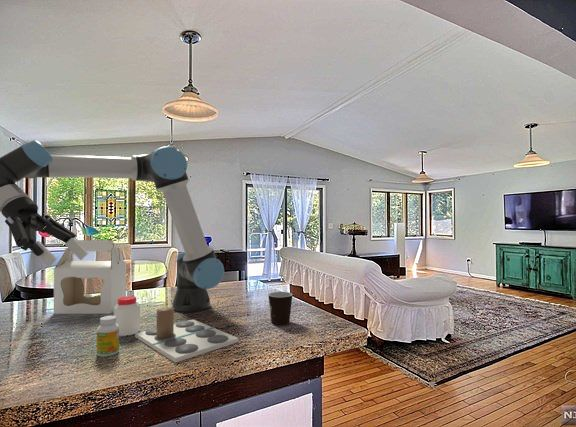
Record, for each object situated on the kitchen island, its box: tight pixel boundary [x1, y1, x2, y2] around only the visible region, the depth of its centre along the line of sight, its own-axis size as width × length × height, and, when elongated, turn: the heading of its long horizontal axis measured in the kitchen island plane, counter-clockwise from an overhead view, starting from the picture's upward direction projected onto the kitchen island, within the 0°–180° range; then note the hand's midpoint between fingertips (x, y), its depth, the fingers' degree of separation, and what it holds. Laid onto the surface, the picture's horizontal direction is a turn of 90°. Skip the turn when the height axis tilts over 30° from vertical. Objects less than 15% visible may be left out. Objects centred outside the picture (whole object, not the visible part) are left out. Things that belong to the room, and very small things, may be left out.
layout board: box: [134, 306, 239, 363], centre depth 102 cm, size 26×20×10 cm
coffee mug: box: [267, 291, 293, 327], centre depth 120 cm, size 12×9×10 cm
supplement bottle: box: [96, 315, 120, 358], centre depth 92 cm, size 5×5×10 cm
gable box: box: [53, 239, 127, 315], centre depth 135 cm, size 22×13×28 cm, turn 92°
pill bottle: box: [113, 295, 141, 337], centre depth 109 cm, size 8×8×11 cm
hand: (69, 259), depth 92 cm, fingers open, 13 cm apart
